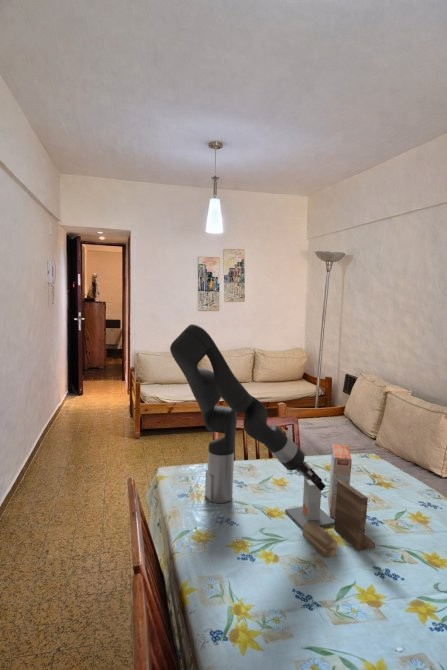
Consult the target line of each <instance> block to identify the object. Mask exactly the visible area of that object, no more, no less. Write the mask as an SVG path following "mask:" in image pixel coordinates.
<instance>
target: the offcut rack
mask: <svg viewBox="0 0 447 670" xmlns="http://www.w3.org/2000/svg"><path fill="white" fill-rule="evenodd" d="M368 499H369V498H368V496H366V495H365V494H363V493H362V492H361V491H359V490H357V489H356V488H355V487H354V486H352V485H351V484H350V485H349V484H348V483H346V482H345V481H343V480H340V481H337V494H336V509H335V517H334V521H335V524H334V526H333V529H334V531H335V532H337V534H338V535H340V536H341V538H343V539H344V540H345V541H346V542H347V543H349V545H351V546H352V547H353V548H354V549H355V550H356V551H357V552H360V551H365V550H370V549H375V548H376V542H375V541H374V540H373V539H371V538H370V537H369V536H368V535H367V534H366V527H367V526H366V525H367V513H368V501H369V500H368ZM301 535H302V537H304V538H305V540H307V542H308V543H309V544H310V545H311V546H312V547H313V548H314V549H315V550H316V551H317V552H318V553H319V554H320V555H321V556H322V558H324V559H325V558H331V557H335V556H337V553H338V548H336V547H337V539H336V538H335V537H333V536H332V535H331V534H329V533H328V532H327V531H326V530H325V529H324V528H321V527H320V526H319V525H318V524H316V523H315V522H314V521H312V522H307V523H304V528H303V530H302V534H301Z"/></svg>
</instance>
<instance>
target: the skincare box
mask: <svg viewBox="0 0 447 670" xmlns="http://www.w3.org/2000/svg"><path fill="white" fill-rule="evenodd" d="M303 479H304V480H303V495H302V496H303V499H302V507H303V513H304V515H305V516H306V518H307V520H308V521H310V520H320V509H321V502H322V501H321V500H322V491H321V490H320V489H319V488H318V487H317V486H316V485H315V484H313V483H312V482H311V481H310V480H307V479H306V478H305V477H303Z"/></svg>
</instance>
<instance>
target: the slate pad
mask: <svg viewBox="0 0 447 670" xmlns="http://www.w3.org/2000/svg"><path fill="white" fill-rule="evenodd" d="M284 513H286V515H287V516H289V518H290V519H291V520H292V521H293V522H294V524H295V525H297V526H298V527H299V528H300V529H301V530H302V531H303V528H304V523H307V522H312V521H314V522H315V523H316V524H318V525H319V526H320V527H321V528H322V529H324V528H329V527H332V526H333V527H334V524H335V519H333V517H330V515H329V514H327V512H325V511H324V510H322V509H321V508H320V520H310V521H308V520H307V518H306V516H305V515H304V513H303V506H298V507H293V508H285V510H284Z"/></svg>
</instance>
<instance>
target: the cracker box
mask: <svg viewBox="0 0 447 670" xmlns="http://www.w3.org/2000/svg"><path fill="white" fill-rule="evenodd" d="M331 445H332V446H331V456H330V458H331V459H330V472H329V473H330V474H329V483H328V484H329V486H328V497H327V499H328V509H329V517H331V518H335V509H336V494H337V481H340V480H343V481H345V482H346V483H348V484H349V485H350V486H351V473H352V460H353V459H352V455H351V452H350V448H349V445H347V444H346V445H345V444H337V443H336V444H335V443H332V444H331Z"/></svg>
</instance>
